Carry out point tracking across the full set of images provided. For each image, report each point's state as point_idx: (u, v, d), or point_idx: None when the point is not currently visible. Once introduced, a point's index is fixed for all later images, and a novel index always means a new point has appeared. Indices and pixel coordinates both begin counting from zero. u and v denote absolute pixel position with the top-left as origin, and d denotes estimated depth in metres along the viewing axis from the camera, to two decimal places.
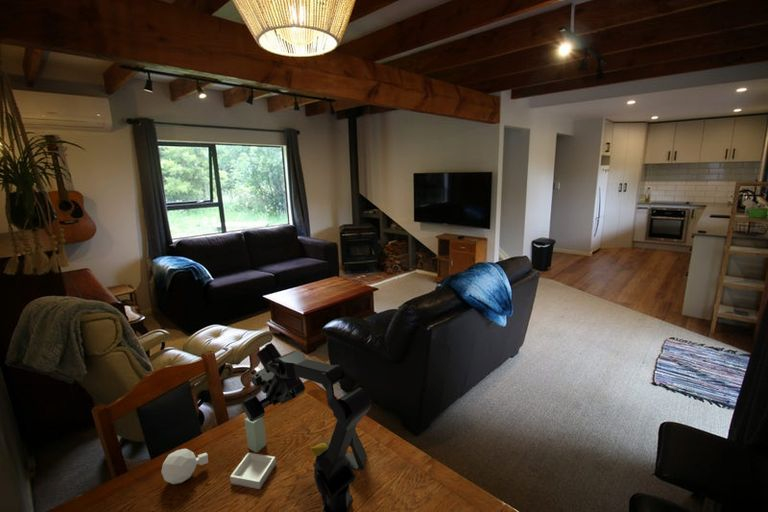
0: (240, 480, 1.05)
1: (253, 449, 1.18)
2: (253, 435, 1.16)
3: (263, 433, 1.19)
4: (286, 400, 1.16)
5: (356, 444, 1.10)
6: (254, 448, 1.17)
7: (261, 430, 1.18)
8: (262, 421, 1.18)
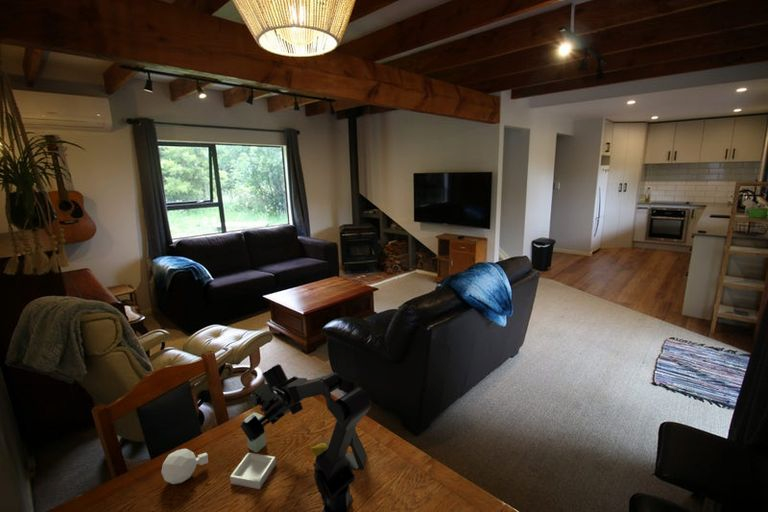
0: (240, 480, 1.05)
1: (253, 449, 1.18)
2: None
3: (263, 433, 1.19)
4: None
5: (356, 444, 1.10)
6: (254, 448, 1.17)
7: None
8: None
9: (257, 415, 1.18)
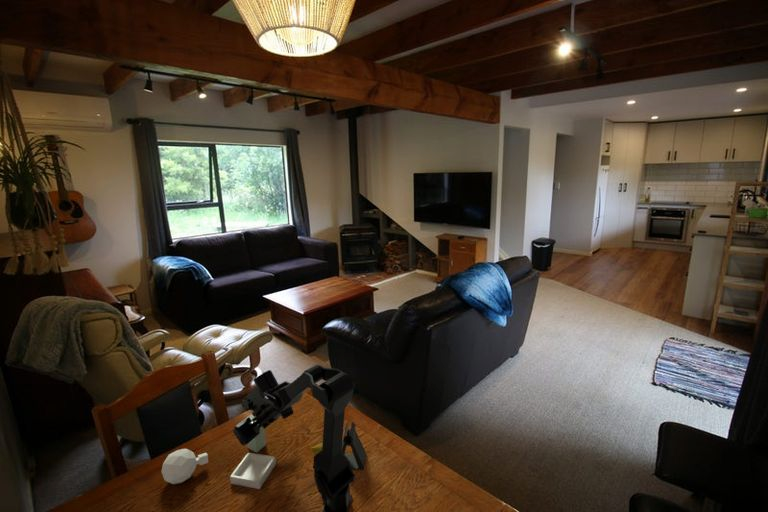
0: (240, 480, 1.05)
1: (253, 449, 1.18)
2: None
3: (263, 433, 1.19)
4: None
5: (356, 444, 1.10)
6: (254, 448, 1.17)
7: (261, 430, 1.18)
8: None
9: None
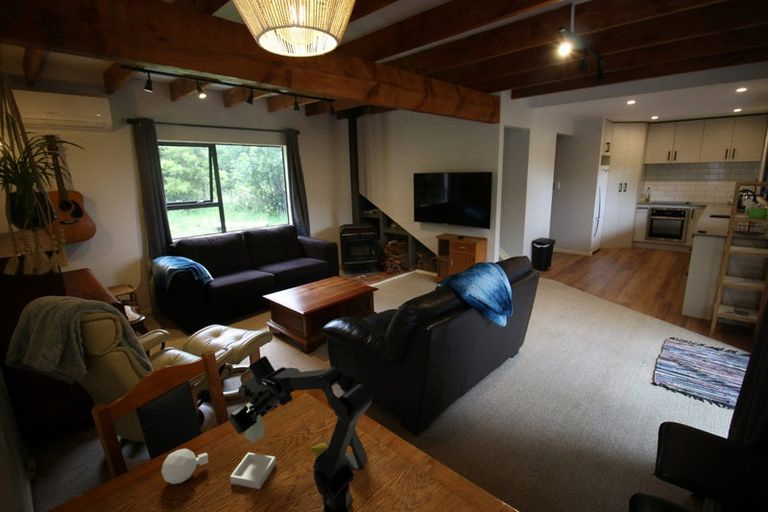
0: (240, 480, 1.05)
1: (251, 439, 1.13)
2: None
3: (261, 422, 1.14)
4: None
5: (356, 444, 1.10)
6: (252, 438, 1.12)
7: (259, 419, 1.13)
8: None
9: None
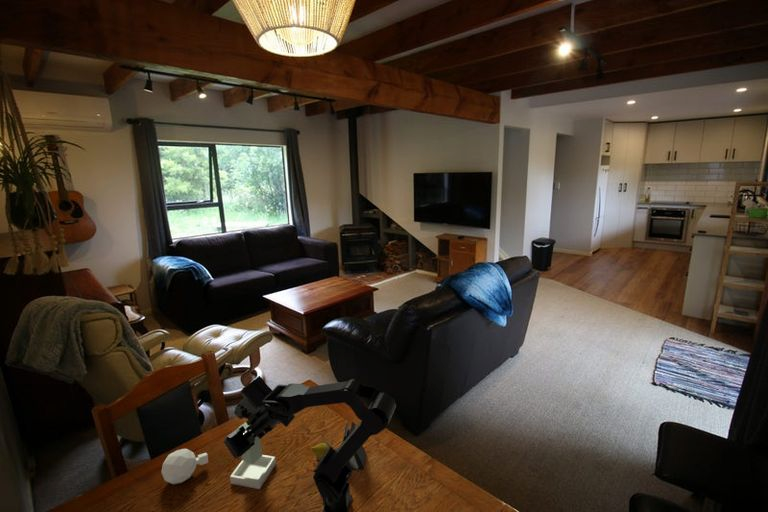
0: (240, 480, 1.05)
1: (248, 461, 1.06)
2: None
3: (259, 443, 1.07)
4: None
5: None
6: (249, 460, 1.05)
7: (256, 440, 1.06)
8: None
9: None
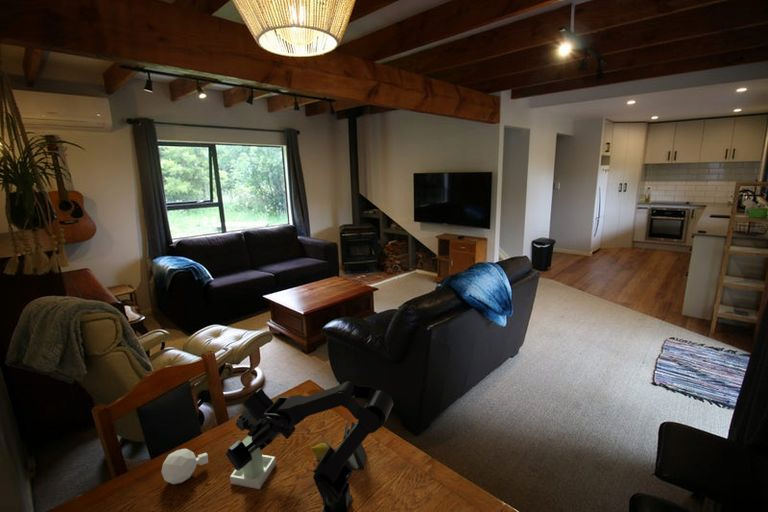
0: (240, 480, 1.05)
1: (249, 475, 1.07)
2: None
3: (260, 457, 1.08)
4: None
5: None
6: (250, 474, 1.07)
7: (258, 454, 1.07)
8: None
9: None
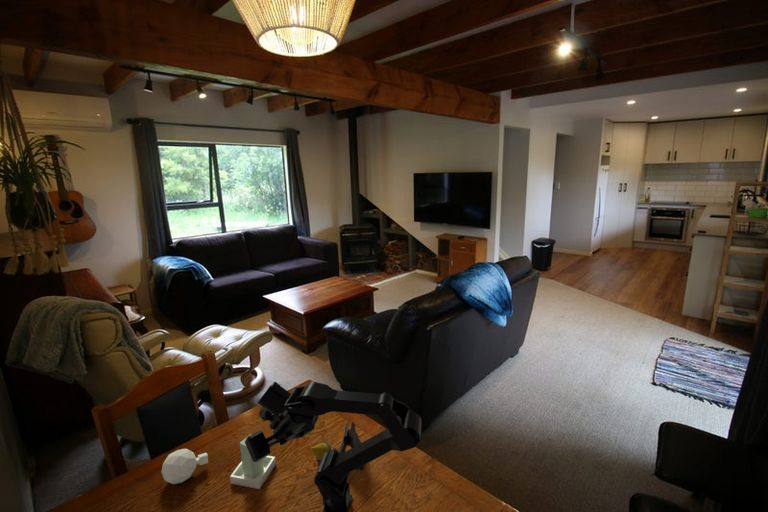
0: (240, 480, 1.05)
1: (249, 475, 1.07)
2: (249, 460, 1.05)
3: None
4: None
5: (356, 444, 1.10)
6: (250, 474, 1.07)
7: None
8: None
9: None
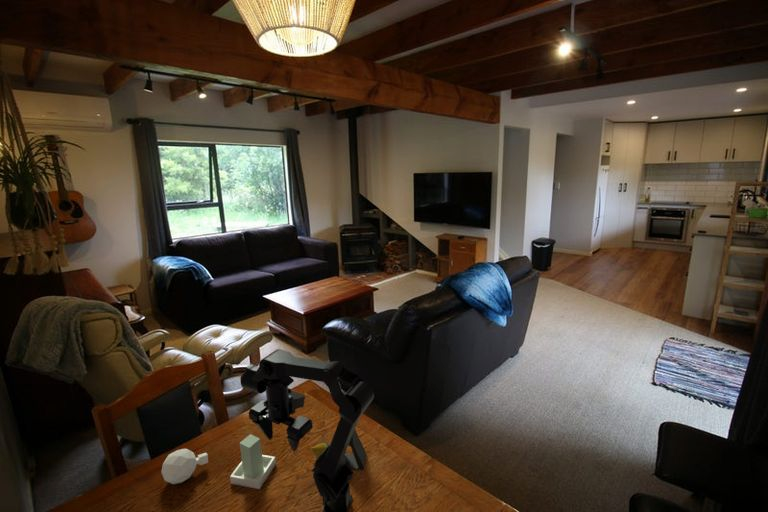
0: (240, 480, 1.05)
1: (249, 475, 1.07)
2: (249, 460, 1.05)
3: (260, 457, 1.08)
4: None
5: (356, 444, 1.10)
6: (250, 474, 1.07)
7: (258, 454, 1.07)
8: (259, 444, 1.07)
9: (253, 438, 1.07)
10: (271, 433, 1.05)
